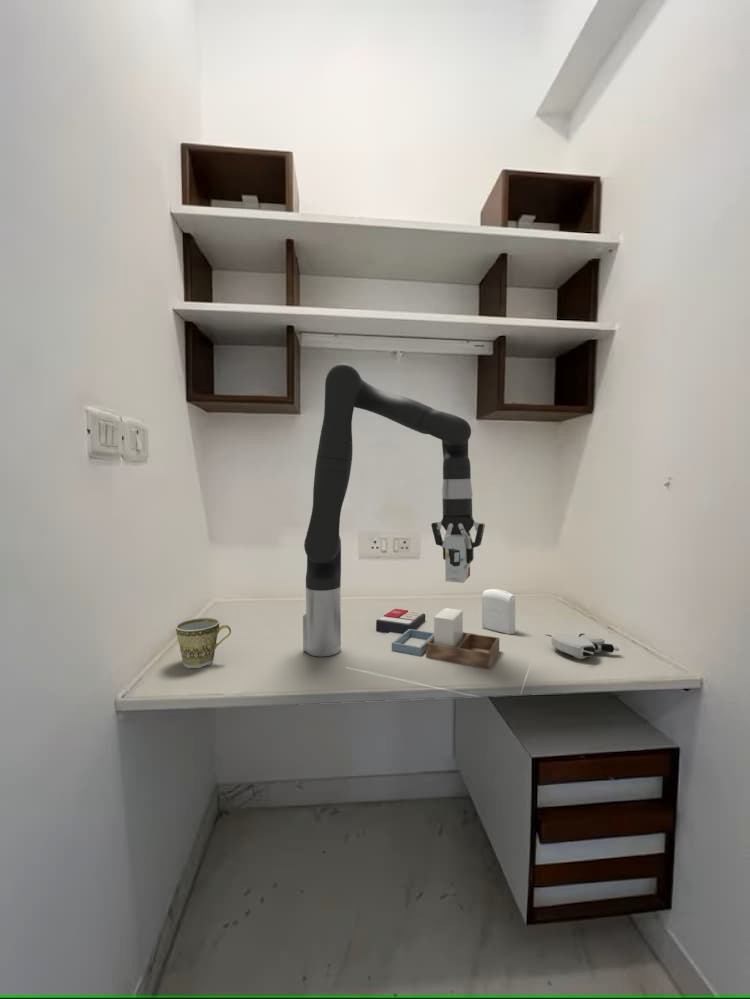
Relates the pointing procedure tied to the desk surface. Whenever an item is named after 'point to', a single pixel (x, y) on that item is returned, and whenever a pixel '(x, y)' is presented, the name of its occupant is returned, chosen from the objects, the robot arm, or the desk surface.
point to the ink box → (456, 559)
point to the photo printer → (498, 611)
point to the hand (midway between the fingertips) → (458, 562)
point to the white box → (448, 627)
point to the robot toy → (580, 644)
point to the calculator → (399, 621)
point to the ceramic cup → (198, 640)
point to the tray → (410, 649)
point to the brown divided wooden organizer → (467, 650)
